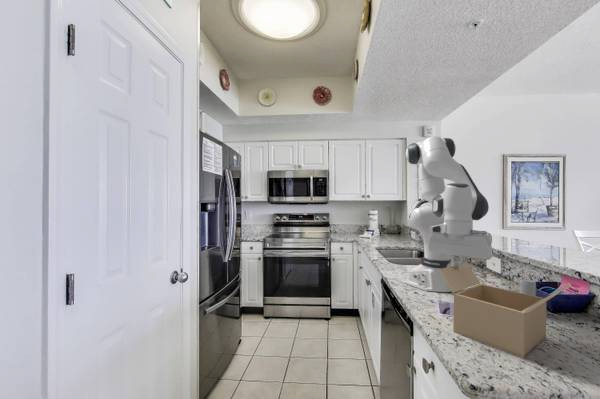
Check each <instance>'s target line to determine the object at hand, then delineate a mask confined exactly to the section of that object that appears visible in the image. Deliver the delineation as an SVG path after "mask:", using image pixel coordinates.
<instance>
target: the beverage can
mask: <svg viewBox="0 0 600 399" xmlns="http://www.w3.org/2000/svg"><path fill="white" fill-rule="evenodd" d="M518 282H519V285H518V286H519V287H518V288H519V291H518V292H520V293H524V294H528V295H533V296H537V283H536V281H535V280H533V279H532V280H531V279H526V278H520V279H519V281H518Z"/></svg>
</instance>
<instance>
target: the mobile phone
mask: <svg viewBox="0 0 600 399" xmlns="http://www.w3.org/2000/svg"><path fill="white" fill-rule="evenodd" d="M436 304H437V311H438V315H440V316H443V317H449V318H454V302H450V301H442V300H438V301H437V302H436Z"/></svg>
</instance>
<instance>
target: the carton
mask: <svg viewBox="0 0 600 399" xmlns="http://www.w3.org/2000/svg"><path fill="white" fill-rule="evenodd" d="M545 298H546V297H541V296H538V295H536V296H533V295H528V294H524V293H520V292H519V291H515V290H510V289H505V288H501V287H497V286H492V285H487V284H483V283H479V284H476V285H474V286H471V287H468V288H465V289H463V290H460V291H457V292H455V293H453V303H454V317H453V332H454V333H456V334H458V335H461V336H463V337H466V338H468V339H470V340H474V341H477V342H479V343H482V344H484V345H487V346H490V347H492V348H495V349H497V350H500V351H503V352H505V353H508V354H511V355H513V356H516V357H519V358H521V359H525V358H527V356H528V355H529V354H530V353H531V352H532V351H533V350H535V349H536V348H537V347H538V346H539V345H540V344H541V343H542V342H543V341H544V340H546V338H547V301H546V302H544V303H543V304H541V305H539V306H538V307H536V308H535V309H533V310H531V311H530V312H528V313H526V312H525V311H526V310H527V309H529V308H531V307H532V306H534V305H535V304H537V303H538V302H540V301H542V300H543V299H545Z"/></svg>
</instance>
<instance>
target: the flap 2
mask: <svg viewBox="0 0 600 399" xmlns="http://www.w3.org/2000/svg"><path fill="white" fill-rule="evenodd" d="M572 284H573V283H571V282H569V283H567V284H565V285H564V286H562V287H560V288H559V289H557V290H556V291H554V292H552V293H551V294H550V295H548V296H546V297H544V298H545V299H543V300H542V301H540V302H538V303H537V304H535V305H534V306H532V307H531V308H529V309H527V310H526V311H525V312H526V313H528V312H530V311H531V310H533V309H535V308H536V307H538V306H539V305H541V304H543V303H544V302H546V303H547V301H549V300H550V299H552V298H554V297H555V296H557V295H558V294H559V293H561V292H562V291H564V290H566V289H568V288H569V287H570V286H572Z"/></svg>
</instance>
